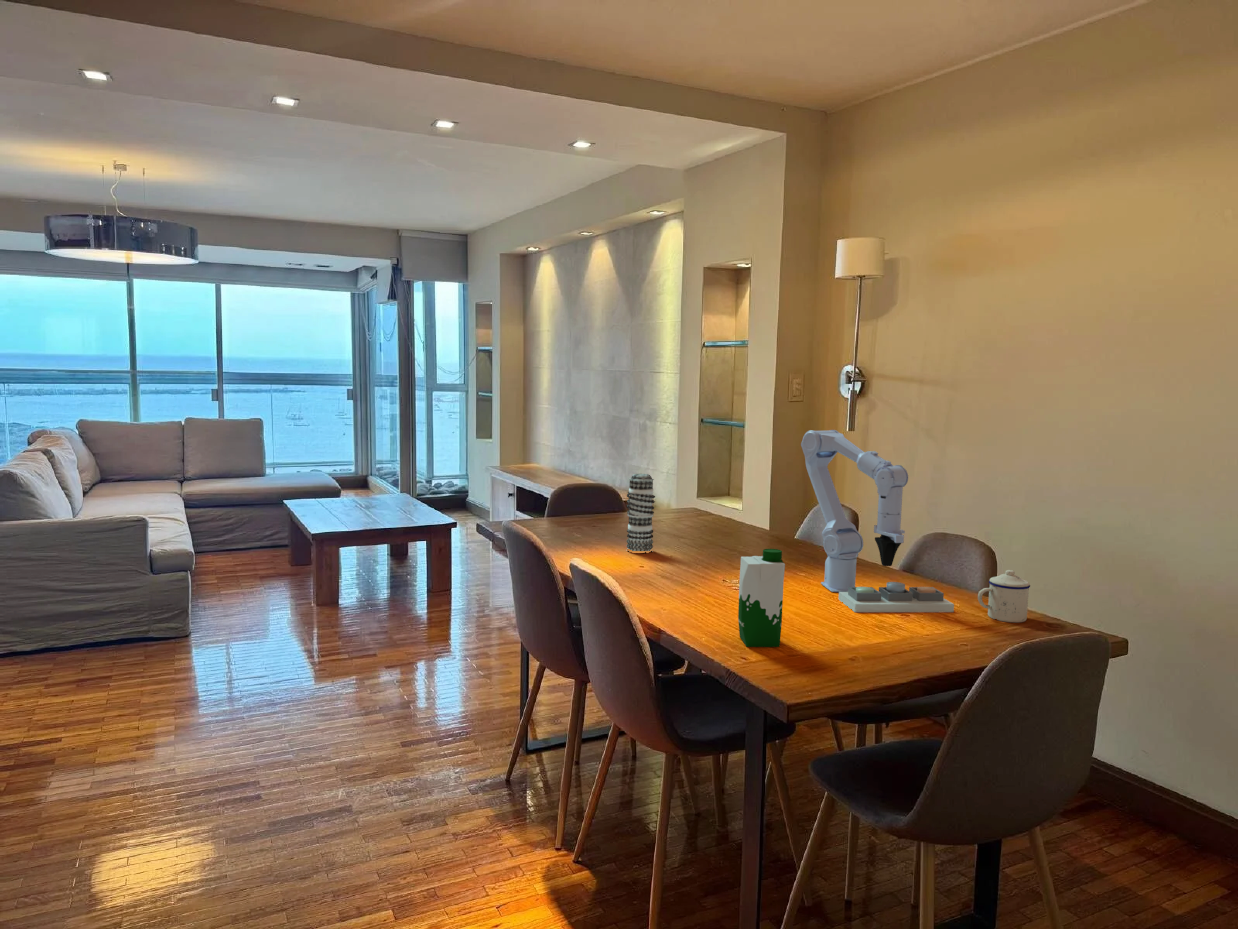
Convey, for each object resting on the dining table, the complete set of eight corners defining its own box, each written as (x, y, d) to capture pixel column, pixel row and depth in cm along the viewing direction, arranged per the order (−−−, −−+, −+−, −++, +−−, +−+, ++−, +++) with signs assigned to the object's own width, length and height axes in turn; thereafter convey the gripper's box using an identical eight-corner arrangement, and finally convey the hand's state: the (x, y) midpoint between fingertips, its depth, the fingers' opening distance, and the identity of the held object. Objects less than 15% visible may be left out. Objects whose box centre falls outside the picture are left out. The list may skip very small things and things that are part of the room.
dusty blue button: (883, 590, 217) (884, 581, 217) (900, 590, 217) (900, 581, 217) (890, 594, 213) (890, 586, 213) (907, 594, 213) (908, 586, 213)
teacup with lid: (1015, 612, 211) (1018, 566, 210) (1035, 623, 202) (1038, 575, 201) (968, 612, 210) (971, 566, 209) (986, 623, 201) (989, 574, 200)
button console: (838, 599, 220) (839, 584, 220) (932, 599, 222) (932, 584, 222) (854, 612, 209) (855, 596, 208) (953, 612, 211) (954, 596, 210)
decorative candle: (621, 552, 273) (623, 475, 271) (629, 547, 282) (631, 472, 279) (649, 555, 271) (651, 476, 268) (656, 549, 279) (658, 473, 277)
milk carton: (785, 648, 179) (788, 554, 177) (742, 648, 179) (746, 554, 177) (774, 635, 188) (778, 546, 186) (733, 635, 187) (737, 546, 185)
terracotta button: (913, 595, 218) (914, 586, 218) (930, 595, 218) (930, 586, 218) (921, 599, 214) (921, 591, 213) (938, 599, 214) (938, 591, 214)
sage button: (852, 595, 217) (853, 586, 216) (869, 595, 217) (870, 586, 217) (858, 599, 212) (859, 591, 212) (876, 599, 213) (876, 591, 212)
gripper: (916, 517, 210) (913, 572, 212) (893, 508, 225) (890, 559, 226) (889, 517, 210) (886, 572, 211) (867, 508, 224) (864, 559, 225)
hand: (886, 565), depth 218 cm, fingers closed
